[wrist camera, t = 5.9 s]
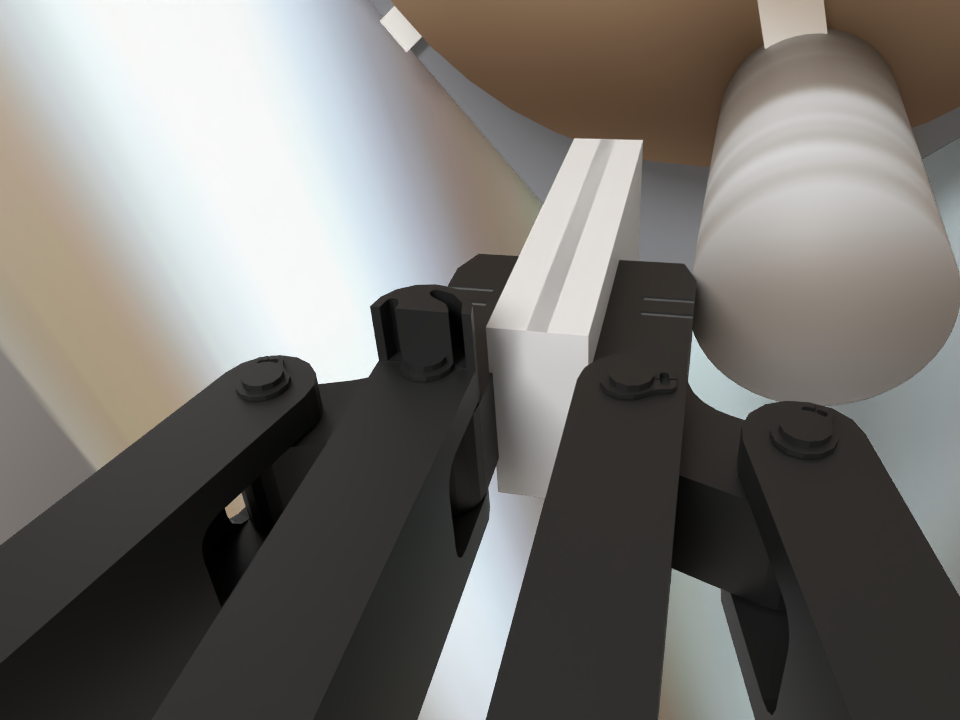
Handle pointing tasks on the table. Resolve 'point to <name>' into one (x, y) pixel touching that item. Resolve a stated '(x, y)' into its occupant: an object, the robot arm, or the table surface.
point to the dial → (759, 160)
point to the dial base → (540, 151)
